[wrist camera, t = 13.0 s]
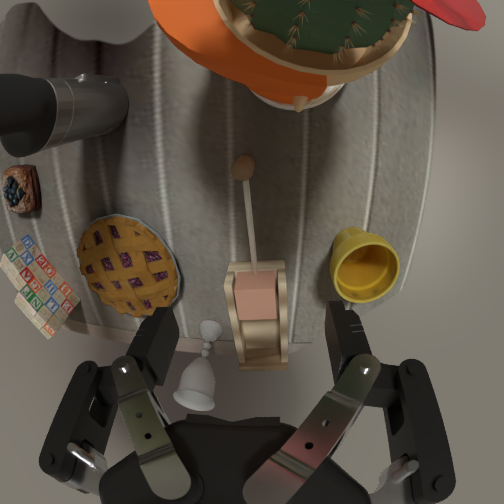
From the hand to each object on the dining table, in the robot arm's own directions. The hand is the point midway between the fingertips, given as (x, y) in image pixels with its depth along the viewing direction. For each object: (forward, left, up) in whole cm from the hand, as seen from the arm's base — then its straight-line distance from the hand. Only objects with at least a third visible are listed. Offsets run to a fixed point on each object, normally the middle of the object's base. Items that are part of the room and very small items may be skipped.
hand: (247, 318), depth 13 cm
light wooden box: (+24, -2, -30) cm, 39 cm away
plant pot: (+12, +14, -30) cm, 36 cm away
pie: (+13, -26, -31) cm, 42 cm away
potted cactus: (-21, +4, -30) cm, 37 cm away
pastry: (-7, -50, -31) cm, 59 cm away
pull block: (+8, -2, -28) cm, 29 cm away
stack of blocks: (+15, -53, -30) cm, 63 cm away
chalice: (+30, -13, -30) cm, 45 cm away
